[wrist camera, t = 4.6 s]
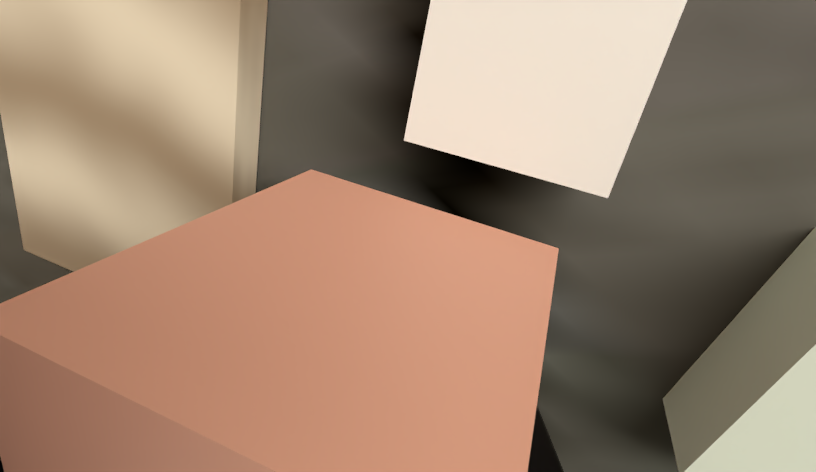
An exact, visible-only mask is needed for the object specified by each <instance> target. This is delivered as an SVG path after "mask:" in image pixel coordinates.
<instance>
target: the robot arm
mask: <svg viewBox="0 0 816 472" xmlns="http://www.w3.org/2000/svg"><path fill="white" fill-rule="evenodd" d="M0 472H4V469H3V465H2V461H1V457H0ZM528 472H564V471H563V469H562V466H561V464H560V461H559V459H558V456H557V454H556V451H555V449H554V446H553V444H552V441H551V439H550V436H549V434H548V431H547V429H546V426H545V424H544V421H543V419H542V416H541V414H540V411H539V409H538V406H537V408H536V415H535V422H534V429H533V436H532V443H531V451H530V458H529V465H528Z"/></svg>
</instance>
